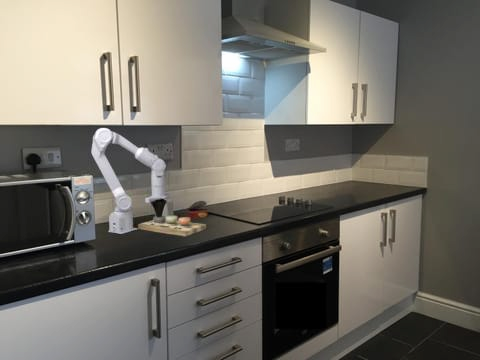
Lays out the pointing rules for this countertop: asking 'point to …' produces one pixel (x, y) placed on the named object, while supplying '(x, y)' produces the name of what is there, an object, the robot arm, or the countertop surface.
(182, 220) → the terracotta button
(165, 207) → the medicine box
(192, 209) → the canned food
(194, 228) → the button board
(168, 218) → the sage button
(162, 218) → the grey button
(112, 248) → the countertop surface
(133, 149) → the robot arm
